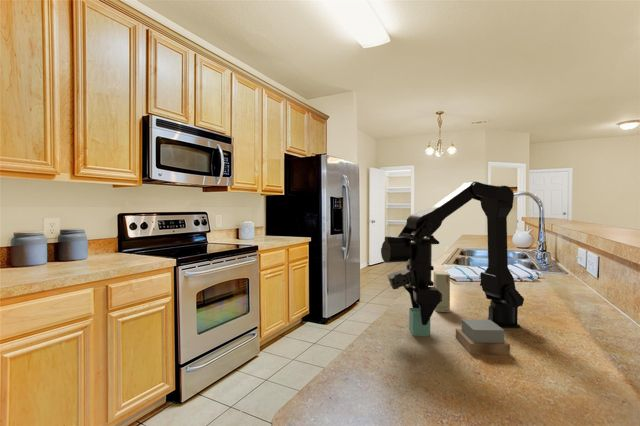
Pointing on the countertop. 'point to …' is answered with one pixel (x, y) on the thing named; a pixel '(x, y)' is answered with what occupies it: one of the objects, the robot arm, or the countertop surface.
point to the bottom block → (482, 346)
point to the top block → (482, 331)
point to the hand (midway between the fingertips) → (419, 318)
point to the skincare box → (443, 290)
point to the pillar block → (417, 323)
